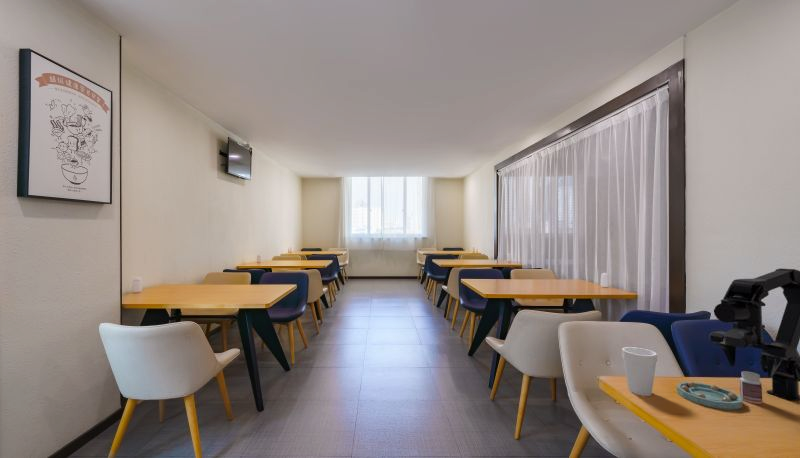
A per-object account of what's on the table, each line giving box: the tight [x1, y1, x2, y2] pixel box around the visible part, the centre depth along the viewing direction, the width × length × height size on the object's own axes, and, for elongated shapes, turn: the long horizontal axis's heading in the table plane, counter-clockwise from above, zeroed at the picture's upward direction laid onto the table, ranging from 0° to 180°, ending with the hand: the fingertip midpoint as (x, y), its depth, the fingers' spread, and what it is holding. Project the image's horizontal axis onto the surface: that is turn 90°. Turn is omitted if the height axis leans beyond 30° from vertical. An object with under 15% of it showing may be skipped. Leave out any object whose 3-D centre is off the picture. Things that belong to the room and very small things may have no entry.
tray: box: [676, 381, 743, 411], centre depth 108 cm, size 15×15×3 cm
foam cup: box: [621, 346, 658, 397], centre depth 113 cm, size 10×9×13 cm
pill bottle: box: [739, 370, 763, 405], centre depth 107 cm, size 5×5×8 cm
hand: (750, 371), depth 107 cm, fingers open, 9 cm apart
